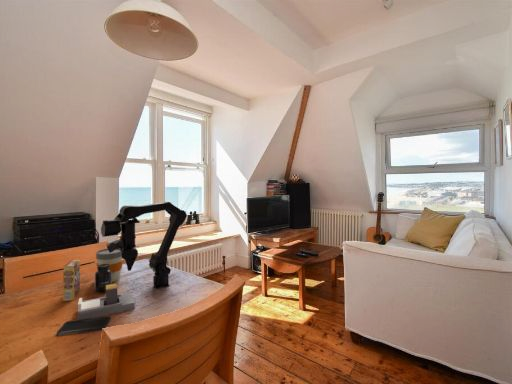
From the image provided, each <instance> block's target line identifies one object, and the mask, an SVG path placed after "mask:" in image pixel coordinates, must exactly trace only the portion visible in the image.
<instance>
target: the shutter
mask: <svg viewBox="0 0 512 384" xmlns="http://www.w3.org/2000/svg"><path fill="white" fill-rule="evenodd" d="M95 299H96V298H95ZM90 300H91V299H90ZM82 301H83V297H80V298H78V303H77V312H78V311H82V310H86V309H91V308H96V307H100V299H96V300H91V301H86V300H85V301H86V302H82Z"/></svg>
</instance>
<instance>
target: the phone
mask: <svg viewBox="0 0 512 384" xmlns="http://www.w3.org/2000/svg"><path fill="white" fill-rule="evenodd" d="M111 320H112V317H111V316H99V317H95V318H90V319H82V320H78V319H74V320H68V321H65V322H63V324H62V325H61V327H60V328H58V330H57V331H56V335H57V336H66V335H71V334H72V335H73V334H82V333H89V332H97V331H103V330H102V328H105V327H107V328H108V326H109V324H110V323H111Z"/></svg>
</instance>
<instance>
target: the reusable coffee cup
mask: <svg viewBox="0 0 512 384" xmlns="http://www.w3.org/2000/svg"><path fill="white" fill-rule="evenodd" d="M95 259H96V267H97V266H98V265H100V264H109V270H111V272H112V282H111V283H113V282H116V281H118V280H119V279H120V278H121V271H122V269H123V262H124V259H122V256H121V251H120V248H119V249H117V250H114V251H113V252H110V253H109V251H108V248H104V249H100V250H98V251H96V253H95Z"/></svg>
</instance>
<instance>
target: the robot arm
mask: <svg viewBox="0 0 512 384" xmlns="http://www.w3.org/2000/svg"><path fill="white" fill-rule="evenodd" d="M162 211H165V212H166V213H167V214H168V215H169V218H168V219H169V225H168V228H167V230H166V232H165V235H164V237H163V240H162V242H161V244H160V246H159V249H158V251H157V252H156V253H155V254H154V253H152V254H151V255H150V258H149V260H148V262H149V263H148V266H149V268H150V269H151V270H152V272H154V274H153V276H152V281H153V283H152V284H153V286H154V288H155V289H159V288H164V287H169V286H170V283H169V275H170V273H171V271H172V269H171V268H170V267H168V266H167V264H168V253H169V251H170V249H171V247H172V244H173V242H174V239H175V237H176V234H177V233H178V230H179V228H180V227H181V226H182V225H183V224H184V222H185V221H186V220H187V217H188V215H187V211H185V210H183V209H180V208H179V207H177V206H175V205H174V204H173V203H172V202H171V201H163V202H157V203H149V204H145V205H123V206H121V207H120V208H119V212H118V213H117V215H116V217H115V218H114V219H112V220H103V221H102V224H101V227H100V235H101V236H102V237H113V236H118V235H119V234H120V236H119V238H118V239H116V240H114V241H111V242H108V243H107V244H106V249H108V251H109V253H110V252H113V251H114V250H117V249H119V248H120V251H121V256H122V260H123V261H125V264H126V268H127V271H128V272H131V271H132V269H133V266H134V264H135V262H136V260H137V258H138V257H139V251H138V249H137V245H136V237H137V236H136V224H141V221H140V220H138V219H137V218H139V217H141V216H143V215H145V214H151V213H156V212H162Z"/></svg>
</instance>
